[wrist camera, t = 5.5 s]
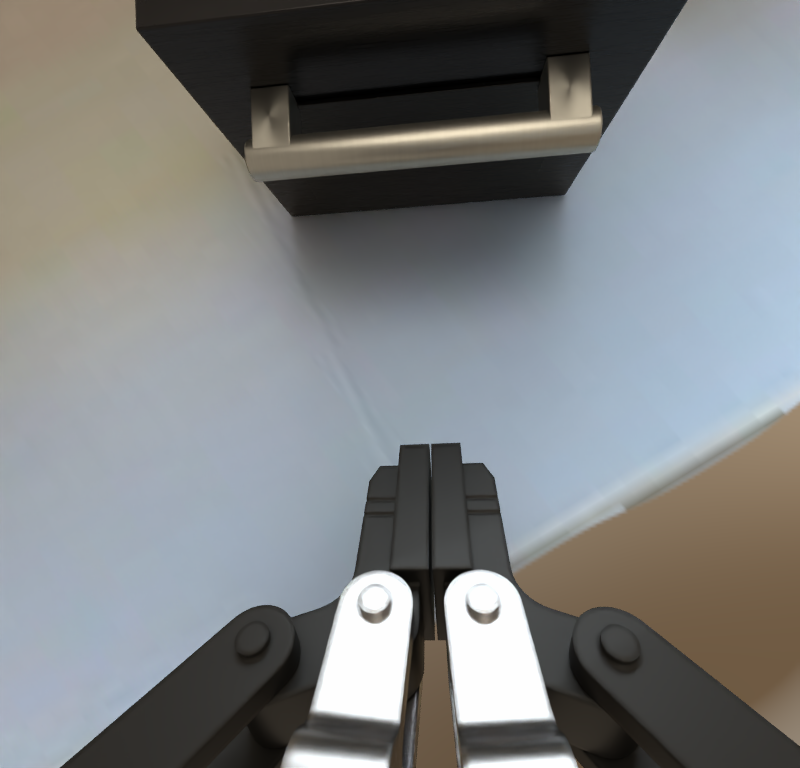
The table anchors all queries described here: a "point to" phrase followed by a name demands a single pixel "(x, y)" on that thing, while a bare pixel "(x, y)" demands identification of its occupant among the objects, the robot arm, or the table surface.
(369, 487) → the robot arm
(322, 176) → the oven door
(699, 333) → the table surface
